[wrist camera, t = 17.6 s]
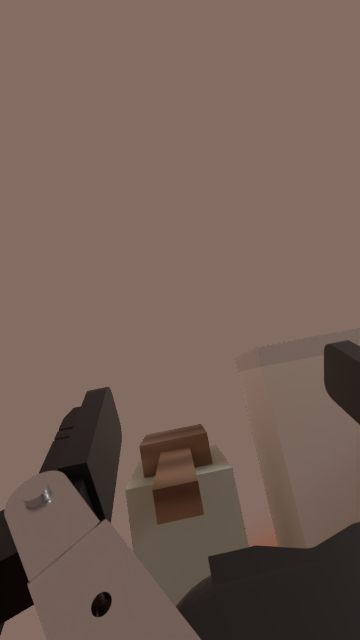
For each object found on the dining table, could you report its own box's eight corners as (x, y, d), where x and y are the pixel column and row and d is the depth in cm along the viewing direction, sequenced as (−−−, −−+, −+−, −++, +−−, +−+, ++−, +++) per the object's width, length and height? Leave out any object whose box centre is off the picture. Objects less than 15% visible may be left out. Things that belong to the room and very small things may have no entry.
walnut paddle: (234, 507, 18) (224, 457, 19) (125, 531, 18) (119, 479, 19) (205, 449, 36) (200, 424, 37) (150, 460, 36) (146, 435, 36)
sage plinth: (295, 768, 22) (232, 466, 27) (166, 803, 22) (125, 489, 26) (255, 643, 33) (215, 444, 38) (169, 664, 32) (139, 459, 37)
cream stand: (499, 712, 23) (368, 326, 30) (357, 751, 22) (256, 347, 29) (396, 608, 34) (317, 342, 41) (298, 633, 33) (235, 357, 40)
